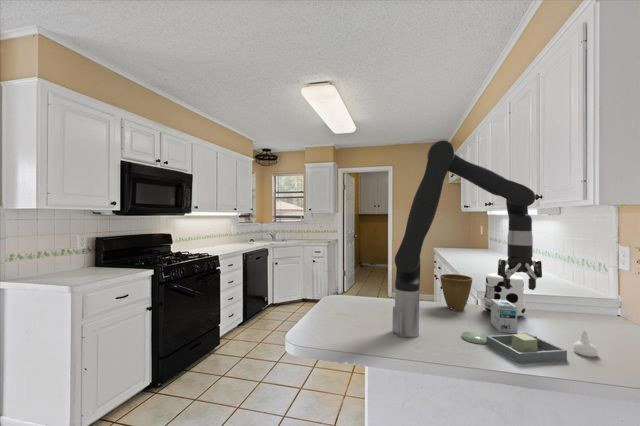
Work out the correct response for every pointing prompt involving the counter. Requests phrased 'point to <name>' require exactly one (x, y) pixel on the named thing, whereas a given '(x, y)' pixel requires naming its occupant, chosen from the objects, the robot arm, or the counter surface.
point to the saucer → (475, 337)
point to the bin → (527, 357)
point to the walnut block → (530, 335)
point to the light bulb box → (504, 316)
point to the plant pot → (456, 290)
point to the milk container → (505, 292)
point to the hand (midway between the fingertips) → (519, 289)
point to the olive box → (524, 343)
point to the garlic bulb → (585, 346)
